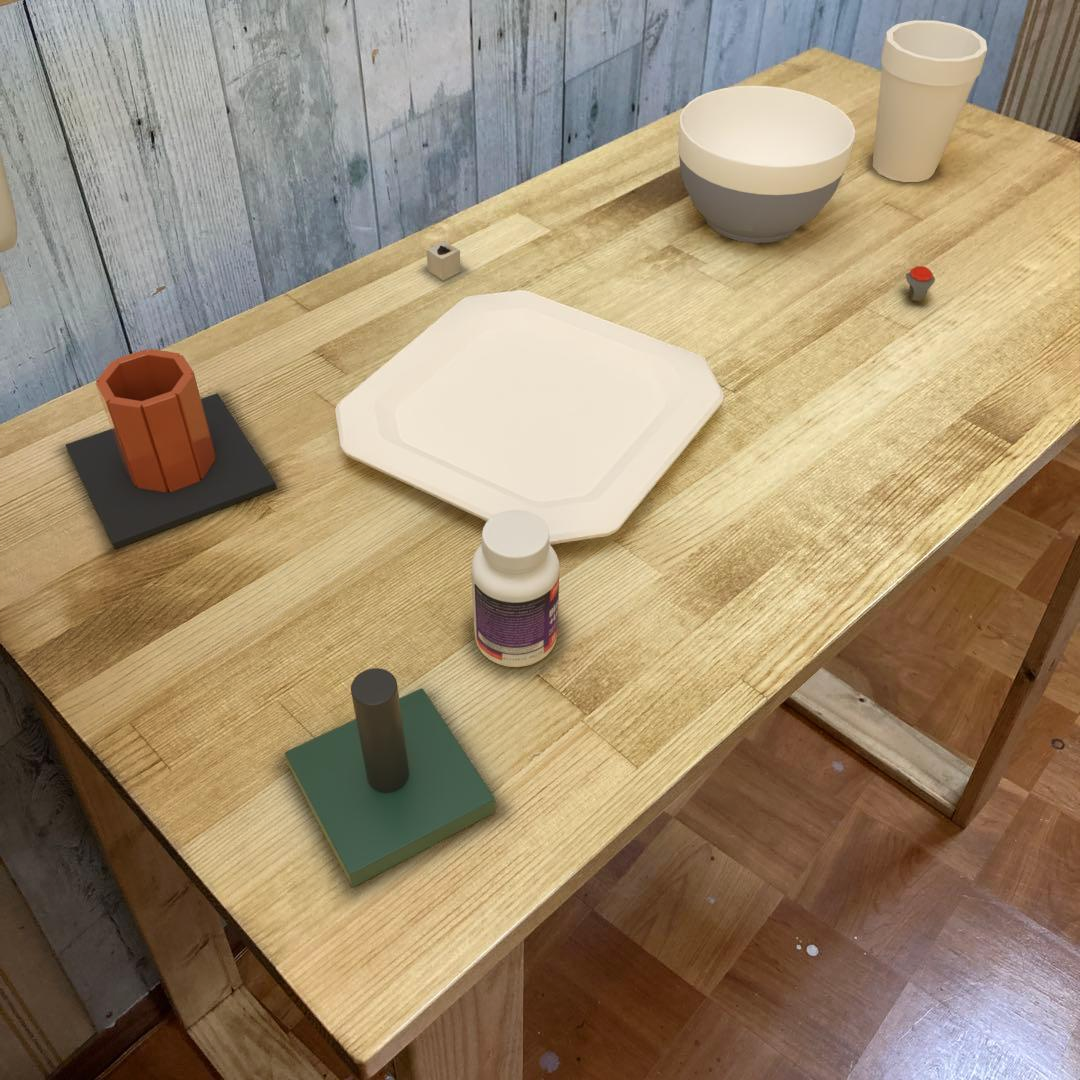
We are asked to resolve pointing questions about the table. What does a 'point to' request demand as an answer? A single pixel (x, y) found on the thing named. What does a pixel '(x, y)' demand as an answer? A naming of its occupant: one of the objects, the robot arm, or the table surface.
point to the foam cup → (922, 94)
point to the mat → (152, 511)
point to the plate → (531, 413)
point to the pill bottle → (515, 589)
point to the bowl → (762, 159)
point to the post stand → (388, 779)
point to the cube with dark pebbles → (443, 260)
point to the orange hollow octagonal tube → (157, 419)
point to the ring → (919, 282)
